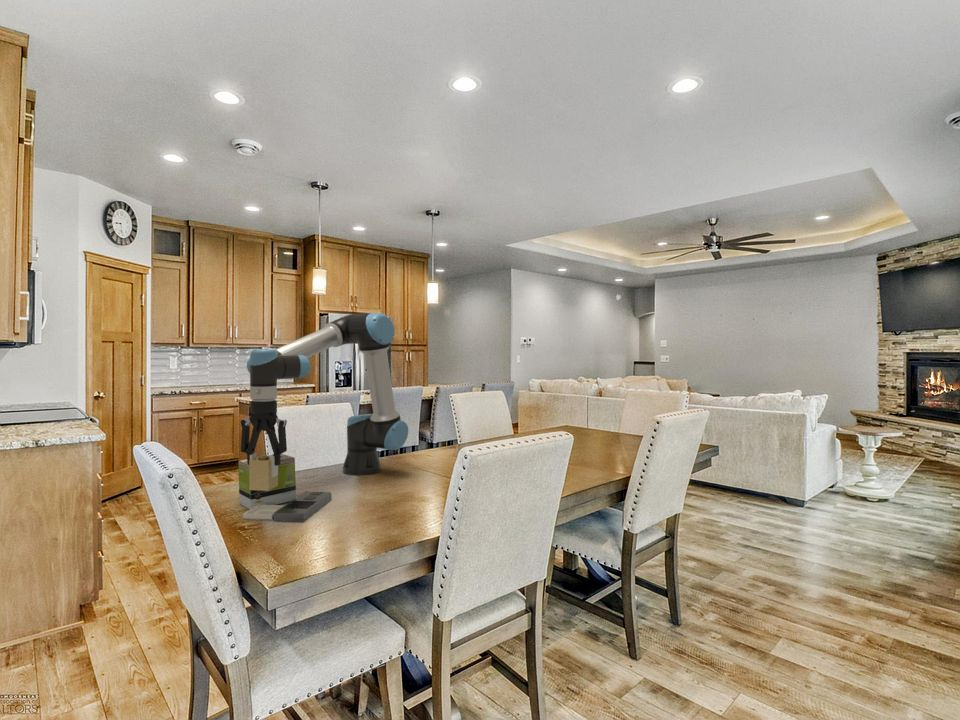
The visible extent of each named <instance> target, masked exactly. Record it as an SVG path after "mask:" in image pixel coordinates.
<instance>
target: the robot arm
mask: <svg viewBox="0 0 960 720" xmlns="http://www.w3.org/2000/svg"><path fill="white" fill-rule="evenodd" d="M395 334H396V333H395V327H394V323H393V321H392V319H391V318H390V317H388V316H387V314H385V313H381V312H380V313H379V312H378V313H377V312H367V313H365V312H363V313H350V314H346V315H344V316H342V317H339V318H337V319H335V320H333V321H330V322H328V323H326V324H325V325H324V326H323V328H321V329H319V330H316V331H313V332H312V333H309V334H307V335H304V336H302V337H301V338H297V339H296V340H295V339H294V340H293V341H291V342H289V343H287V344H284V345H282V346H279V347H277V348H275V349H274V348H271V349H269V348H267V349H265V348H261V349H259V348H253V349H252V350H251V351H250V354H249V358H248V359H247V361H246V369H247V371H248V373H249V382H250V383H249V385H250V386H249V387H250V389H249V396H250V400H251V401H250V402H249V412H250V416H249V418H245V419H241V420H240V425H241V441H240V452H241V453H244V454H246V457H247V458H246V459H247V464H248V465H249V460H251V459H254V458H256V457H258V456H257V455H258V453H257V452H256V447H257V444H258V441H259V438H260V437H259V436H260V435H261V432H262V431H264V432H265V434H266V435H267V437H268V440H269V443H270V447H271V450H272V452H273V454H270V455H271V477H275V476H277V475H278V465H280V463H281V453H283V454H284V453H285V452H287V450H288V447H287V445H288V444H287V433H286V432H287V431H286V429H287V428H286V426H287V422H288V421H287V419H280V418H279V416H278V413H277V412H278V401H277V400H276V399H277V398H278V390H277V389H278V387H277V385H278V380H289V379H297V380H298V379H301V378H302V379H303V378H306V377H307V376H308V375H309V374H310V372H311V362H310V359H309V358H311V357H313V356H316V355H317V354H320V353H322V352H324V351H326V350H328V349H330V348H332V347H333V348H338V347H341V346H343V345H349V344H350V345H351V344H352V345H353V344H354V345H356V344H357V345H358V349H359V352H360V353H362V354H363V355H364V360H365V361H364V362H365V368H366V375H367V380H368V387H369V395H370V400H371V406H372V407H371V408H372V413H365V414H357V415H351V416H350V417H348V419H347V424H346V436H347V437H346V438H347V439H346V441H347V443H346V444H347V446H346V447H347V453H346V456H345V459H344V463H343V465H342V472H343V473H344V474H347V475H351V476H365V475H372V474H377V473H379V472H380V471H381V469H382V467H381V466H382V463H381V460H380V458H379V456H378V455H379V454H378V452H377V449H383V450H388V451H391V450H392V451H396V450H399V449H401V448H402V447H403V446H404V445H405V443H406V441H407V439H408V435H409V427H408V423H407V422H405V420H403V419H402V420H401V414H400V412H399V411H398V410H396V405H395V397H394V391H393V386H392V377H391V371H390V365H389V364H390V363H389V357H388V350H389V349H390V347H391V344H390V343H391V342H393V339H394V336H395ZM251 425H252V429H251ZM275 425H276V426H277V434H278V435H277V434H276V427H275ZM250 430H252V431H250ZM250 435H251V436H250Z"/></svg>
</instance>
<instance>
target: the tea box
mask: <svg viewBox="0 0 960 720" xmlns="http://www.w3.org/2000/svg"><path fill="white" fill-rule="evenodd" d="M271 455H272V454H270V455H269V456H271ZM295 459H296V458H295V457H294V456H291V455H287V454H284V453H281V463H280V465H278V486H276V487H274V488H273V489H271V490H269V491H261V490H249V465H248V464H247V458H245V459H241V460H238V494H239V495H238V496H239V504H240V505H241V506H243V507H244V508H246V509H247V510H250V509H252V508H253V507H255V506H257V505H279V504H284V503H289V502H291V501H292V500H294V499H295V498H297V490H296V489H297V485H296V481H297V480H296V479H297V478H296V460H295Z"/></svg>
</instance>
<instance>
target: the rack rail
mask: <svg viewBox="0 0 960 720" xmlns="http://www.w3.org/2000/svg"><path fill="white" fill-rule="evenodd" d="M332 498H333V497H332V492H331V491H308V490H307V491H306V490H305V491H304V492H302V493H300V495H298V496H296V498H295V499H294V500H292V501H290V502H287V503H286V504H284V506H283V507H282V508H280V509H279V510H277V511H276V512H274V519H273V521H274V522H285V523H286V522H288V523H289V522H290V523H291V522H292V523H305V522H306V521H307V520H308V519H309V518H310V517H312V516H313V515H314V514H316V513H317V512H318V511H319V510H321V509H322V508H324V507H325V506H326V505H327V504H328V503H329V502H331V500H332Z"/></svg>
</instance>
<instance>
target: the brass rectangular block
mask: <svg viewBox="0 0 960 720" xmlns="http://www.w3.org/2000/svg"><path fill="white" fill-rule="evenodd" d="M276 486H278V475H277V476H275V477H271V456H269V455H267V454H263V455H258V456H257V457H256V458H254V459H251V460H249V490H261V491H269V490H271V489H273V488H274V487H276Z"/></svg>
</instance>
